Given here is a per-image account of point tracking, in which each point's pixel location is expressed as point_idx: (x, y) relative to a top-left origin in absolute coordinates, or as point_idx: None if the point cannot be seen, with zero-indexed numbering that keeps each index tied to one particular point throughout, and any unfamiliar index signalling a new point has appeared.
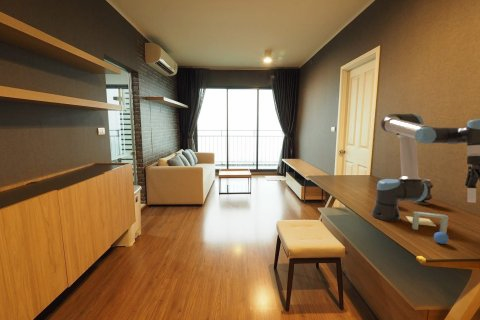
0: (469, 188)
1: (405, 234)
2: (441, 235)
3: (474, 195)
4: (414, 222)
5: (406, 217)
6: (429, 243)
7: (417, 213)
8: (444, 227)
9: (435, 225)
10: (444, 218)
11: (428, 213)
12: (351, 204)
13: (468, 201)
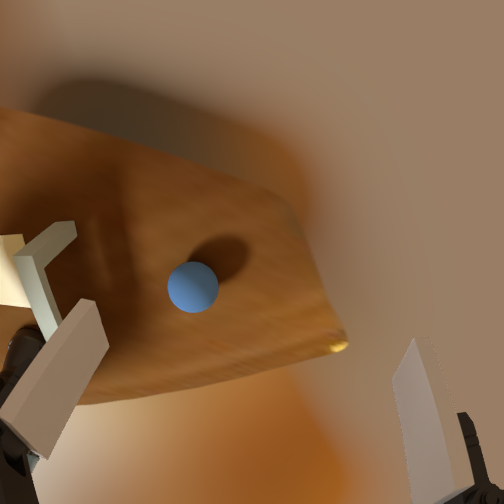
0: (44, 452)
1: (171, 354)
2: (209, 302)
3: (58, 364)
4: None
5: (5, 304)
6: (219, 309)
7: None
8: (63, 240)
9: (16, 235)
10: (42, 264)
11: (43, 321)
12: None
13: (105, 350)
